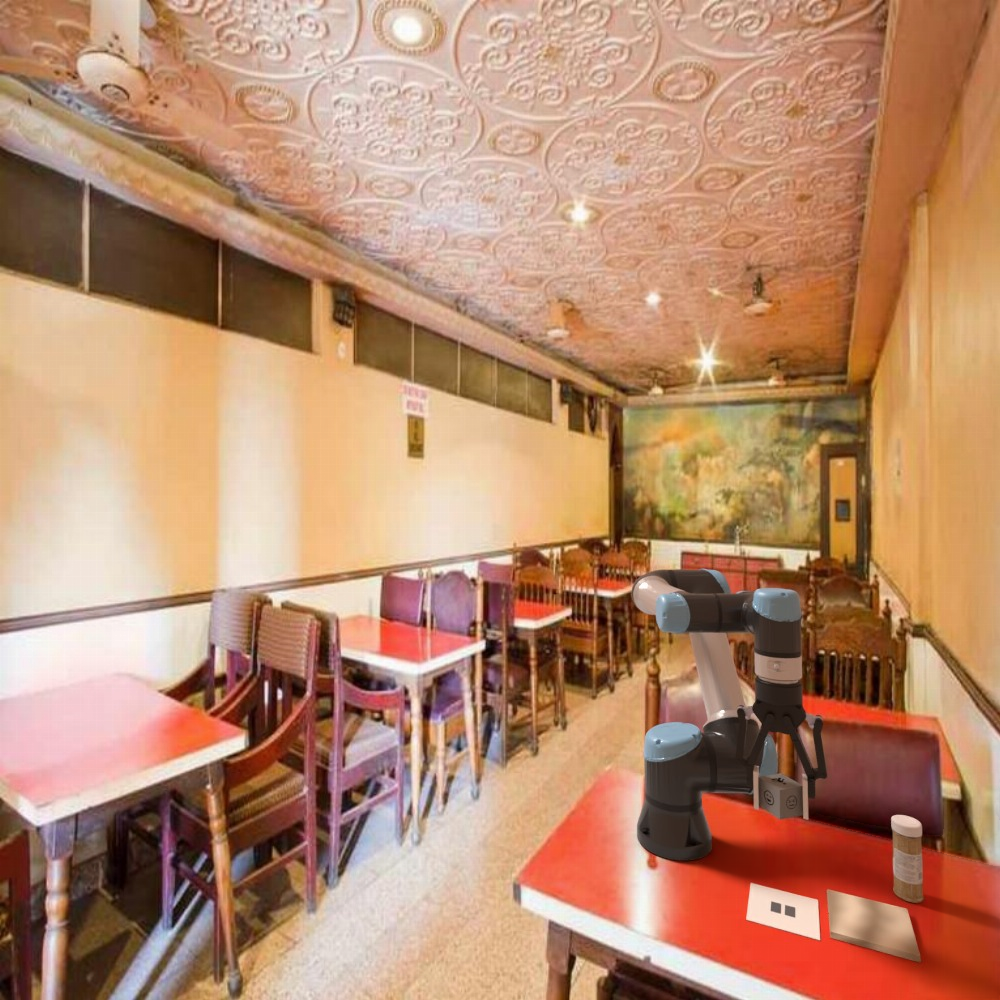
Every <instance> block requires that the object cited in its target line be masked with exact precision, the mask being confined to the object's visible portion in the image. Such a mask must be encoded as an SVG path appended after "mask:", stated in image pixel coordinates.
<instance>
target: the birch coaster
mask: <svg viewBox="0 0 1000 1000" xmlns="http://www.w3.org/2000/svg"><path fill="white" fill-rule="evenodd" d="M826 899H827V900H826V901H827V912H828V913H829V914H828V924H829V926H828V927H829V937H830V939H834V940H837V941H841V942H845V943H848V944H852V945H856V946H859V947H862V948H865V949H869V950H873V951H877V952H881V953H884V954H889V955H891V956H895V957H899V958H902V959H907V960H909V961H914V962H917V963H921V961H922V960H921V954H920V953H921V952H920V950H919V947H918V942H917V940H916V935H915V932H914V928H913V925H912V924H913V923H912V921H911V918H910V915H909V911H908V908H905V907H901V906H897V905H892V904H889V903H885V902H881V901H878V900H873V899H868V898H865V897H860V896H856V895H852V894H849V893H848V894H847V893H845V892H840V891H836V890H832V889H829V888H828V889H826Z"/></svg>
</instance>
